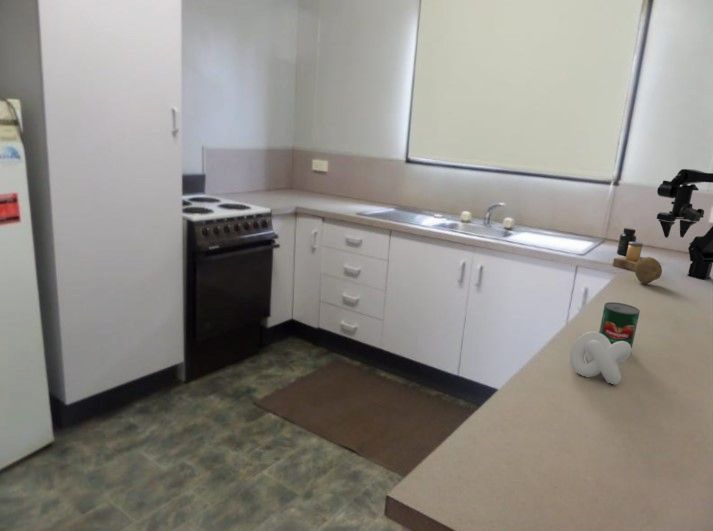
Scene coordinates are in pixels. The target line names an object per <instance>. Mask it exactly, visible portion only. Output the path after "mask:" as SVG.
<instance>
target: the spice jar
mask: <svg viewBox="0 0 713 531" xmlns="http://www.w3.org/2000/svg"><path fill="white" fill-rule="evenodd" d="M643 246H644V243H641V242H638V241H636V242H629V245H628V250H627V255H626V256H625V257H626V260H629V261H634V262H637V261H638V260H640V259H641V254H642V248H643Z"/></svg>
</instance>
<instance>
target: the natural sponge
mask: <svg viewBox="0 0 713 531" xmlns="http://www.w3.org/2000/svg"><path fill="white" fill-rule="evenodd" d="M634 272H635V273H634V274H635V276H636V278H637V280H638V281H639V283H641V284H643V285H648V284H650V283H651V282H654V281H655V280H658V279H660V277H661V276H662V274H663V269H662V265H661V263H660V262H659V261H658V260H657V259H655V258H654V257H651V256H649V257H642V258H640V259H639V260H638V261H637V262H636V264H635V271H634Z"/></svg>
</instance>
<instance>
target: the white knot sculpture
mask: <svg viewBox="0 0 713 531" xmlns="http://www.w3.org/2000/svg"><path fill="white" fill-rule="evenodd" d="M632 350H633V348H632V349H631V345H630V344H629V343H628V342H625V341H618V342H615V343H613V344H612V345H611V343H610V341H609V340H608V338H607V337H606V336H604V335H603V334H601V333H599V331H594V330H593V331H587V332H584V333H583V334H581V335H580V336H578V337H577V338H576V340H575V341H574V343H573V345H572V347H571V349H570V353H569V363H570V366H571V368H572V370H573V371H574V372H575V373H576V374H577V373H578V374H577V375H579V374H581V375H583V376H589V377H588V378H593V377H595V376H598V375H600V374H602V376H603V378H604V380H605V381H606V383H608V384H609V383H611V384H616V385H618V384H619V383H620V382H621V379H622V377H621V373H620V368H619V366H620V365H622V364H623V363H624V362H625V361H627V360H628V358H629V357H630V355H631V354H632ZM583 376H582V377H583ZM611 384H610V385H611Z"/></svg>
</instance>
